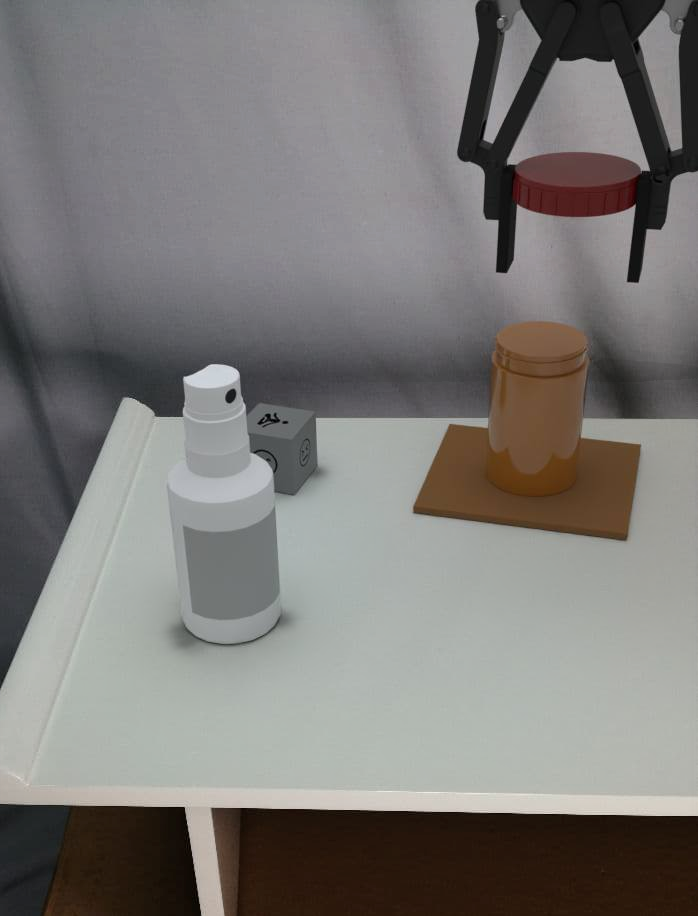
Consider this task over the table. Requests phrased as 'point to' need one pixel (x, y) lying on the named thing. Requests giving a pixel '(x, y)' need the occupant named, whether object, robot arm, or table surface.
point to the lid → (576, 184)
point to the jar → (536, 408)
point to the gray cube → (284, 443)
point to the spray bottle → (223, 516)
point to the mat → (574, 510)
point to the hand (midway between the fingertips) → (568, 270)
